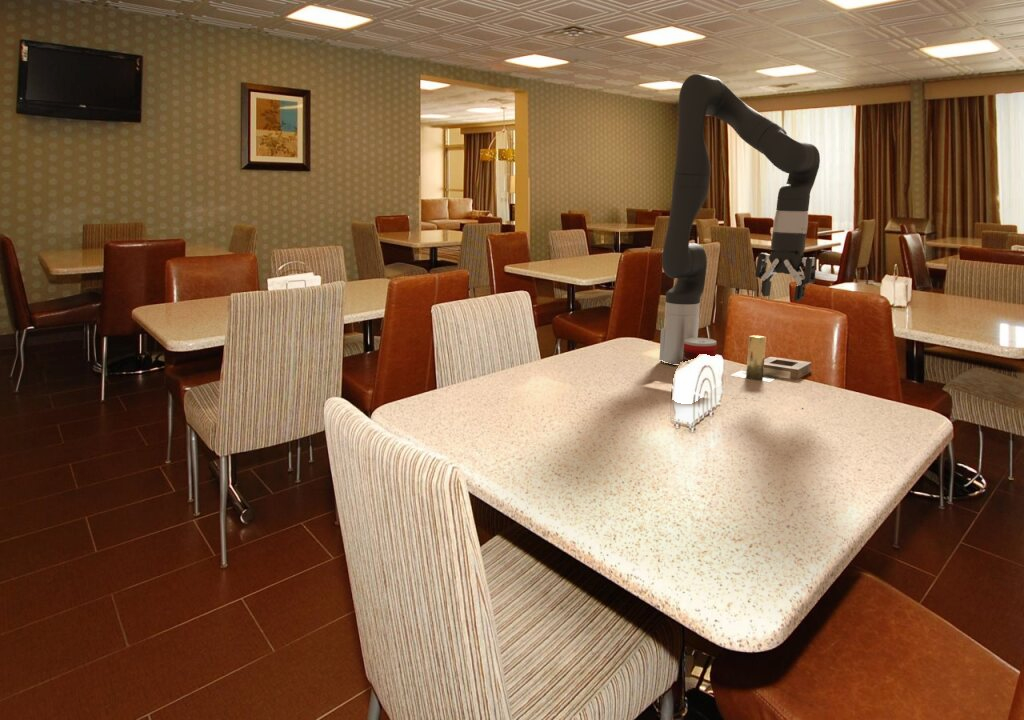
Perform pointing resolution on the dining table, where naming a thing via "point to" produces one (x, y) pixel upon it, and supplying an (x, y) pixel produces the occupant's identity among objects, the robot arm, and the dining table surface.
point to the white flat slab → (765, 378)
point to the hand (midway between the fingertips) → (781, 298)
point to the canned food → (698, 347)
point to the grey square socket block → (786, 368)
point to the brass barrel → (756, 356)
